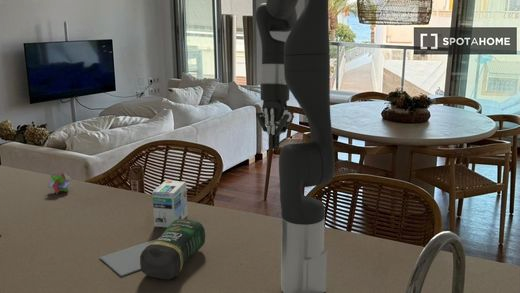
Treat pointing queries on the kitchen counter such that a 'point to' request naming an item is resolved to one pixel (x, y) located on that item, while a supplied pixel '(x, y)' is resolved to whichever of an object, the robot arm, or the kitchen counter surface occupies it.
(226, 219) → the kitchen counter surface
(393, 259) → the kitchen counter surface
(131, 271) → the grey flat rectangular panel
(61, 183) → the geometric puzzle
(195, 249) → the coffee jar
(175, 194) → the light bulb box
